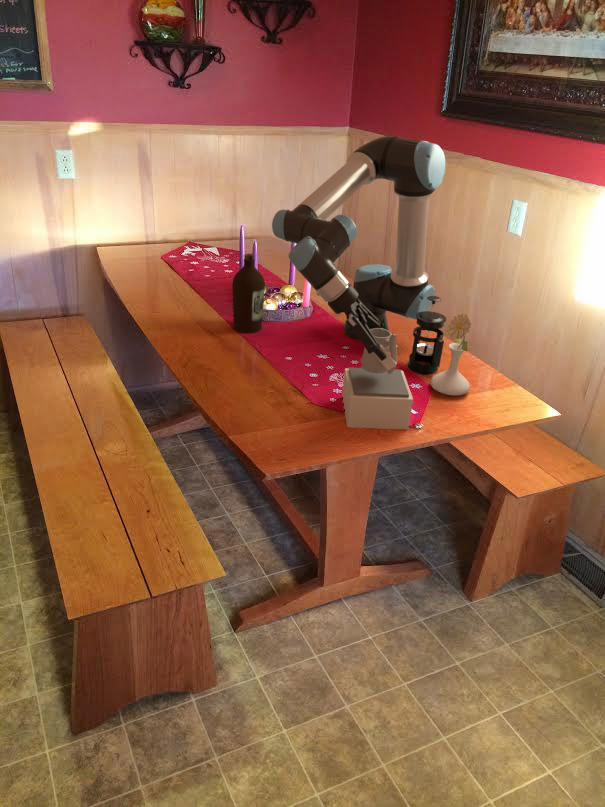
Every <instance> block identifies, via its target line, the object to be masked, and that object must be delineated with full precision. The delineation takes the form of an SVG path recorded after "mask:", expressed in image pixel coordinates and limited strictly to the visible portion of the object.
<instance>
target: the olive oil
mask: <svg viewBox="0 0 605 807" xmlns="http://www.w3.org/2000/svg"><path fill="white" fill-rule="evenodd" d="M243 256H244V259H243V266H242V267H241V268H240V269H239V270H238V271H237V272H236V273H235V275H234V276H233V279H232V282H231V283H232V284H231V285H232V286H231V288H232V289H231V290H232V310H233V312H232V313H233V314H232V315H233V317H232V319H233V320H232V322H233V329H234V330H235V331H237V332H240V333H243V334H253V333H257V332H259V331H261V330H262V328H263V327H262V326H263V316H264V304H265V303H264V301H265V291H266V283H265V278H264V276H263V274H262V273H261V272H260V271H259V269H257V268H256V266H255V254H253V253H245V254H244V255H243Z"/></svg>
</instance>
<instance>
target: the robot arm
mask: <svg viewBox="0 0 605 807" xmlns="http://www.w3.org/2000/svg"><path fill="white" fill-rule="evenodd" d="M445 156H446V155H445V153H444V151H443V149H442V148H441V146H440V145H438V144H437V143H432V142H429V141H426V140H417V139H412V138H405V137H399V136H395V135H385V136H381V137H378V138H374V139H373V140H370V141H368V142H366V143H365V144H363V145H361V146H359V147H358V148H357V149H356V150H354V151H352V153H350V155H349V156H348V157H347V159H346V163H345V164H344V165H343V166H341V167H340V168H339V169H337V171H335V172H334V173H333V174H332V175H331V176H330V177H329V178H327V179H326V181H325V182H323V183H322V184H321V185H319V186H318V187H317V188H316V189H315V190H314V191H313V192H312V193H311V194H310V195H309V196H307V197H306V198H305V199H304V200H302V201H301V202H300V203H299V204H297V206H296V207H295V208H293V209H292V210H290V209H280V210H279V209H278V211H277V212H276V213H275V214H274V216H273V218H272V221H271V230H272V233H273V235H274V236H275V237H277V239H281V240H283V241H286V242H287V243H288V242H289V243H293V244H296V245H294V246H293V247H292V248H291V250H290V251H289V252H288V257H287V258H288V259H289V260H290V263H292V265H293V266H294V267H295V268H296V271H298V272H299V273H300V274H301V276H302V277H303V278H304V279H305V280H306V281H307V282H308V283H309V284H310V286H311V287H312V288H313V289H314V290H315V291H316V295H317V296H320V297H321V298H322V299H323V301H325V302H327V305H328V306H329V308H330V309H331V310H332V311H333V312H334V313H335V315H339V314H342V313H344V315H345V316H346V317H345V318H346V320H345V322H344V326H343V333H344V335H345V336H347V337H349V338H350V339H352V340H357V341H360V342H361V343H362V345H363V347H365V348H366V349H367V351H368V353H369V354H371V353H372V352H373V353H374V354H375V356H376V357H377V358H378V359H379V360H380V361H381V363H382V364H383V365H384V366H385V367H386V368H387V370H390V369H391V368H393V367H394V366H396V367H397V365H398V362H397V363H396V362H395V361H394V360H393V358H392V357H391V354H390V355H389V353H388V352H387V351H386V350H385V349H384V347H383V346H382V345H379V344H378V342H377V340H376V339H375V337H374V335H373V334H372V332H371V331H370V329H374V328H382V329H385V330H388V331H389V330H390V328H389V323H388V319H387V312H388V313H392V314H395V315H399V316H403V317H405V318H406V319H408V318H409V319H412V320H417V318H416V314H417V313H419V312H423V311H429V309H430V308H431V305H433V304H432V301H430V300H428V299H427V297H428V296H435V293H436V291H435V290H436V289H435V286H433V285H432V284H429V274H428V273H427V272H426V271H425V263H426V262H425V260H426V246H427V245H426V244H427V234H428V233H427V232H428V219H429V207H430V206H429V204H430V197H431V196H432V195H434V193H435V192H436V190H437V189H438V188H439V187H440V186H441V184H442V182H443V181H444V175H445V173H446V157H445ZM378 179H379V180H381V179H382V180H387V181H390V182H391V181H392V182H394V183H393V192H394V193H395V194H396V195H397V197H398V208H397V210H398V212H397V231H396V232H397V233H396V235H397V236H396V257H395V259H396V260H395V270H393V269H392V268H391V266H390V265H385V264H379V263H378V264H372V263H371V264H366V265H362V266H360V267H358V268H357V269H356V270H355V271H354V272H355V273H354V278H353V285H352V284H350V283H349V280H348V279H347V278H346V276H345V275H344V274H343V273H342V272H341V271H340V269H339V268H338V267H337V266H336V265H335V264H334V263H335V261H336V260H338V259H339V258H340V256H342V254H343V253H344V252H345V251H346V250H347V249H348V248H349V247H350V246H351V244H352V242H353V241H354V240H355V239H356V238H357V235H358V229H357V226H356V223H355V222H354V220H353V219H352V218H351V217H349V216H348V215H345V214H338V215H335V216H334V217H332V218H331V219H330V220H327V218H329V217H330V216H331V215H333V213H334V212H335V211H337V210H338V209H339V208H341V206H342V205H343V204H345V202H347V201H348V199H350V198H351V197H352V196H353V195H354V194H355V193H356V192H357V191H358V190H360V188H362V187H363V186H364V185H369V184H371V183H373V182H374V181H375V180H378ZM392 270H393V271H392ZM371 346H372V347H371ZM397 348H398V345H397Z"/></svg>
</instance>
